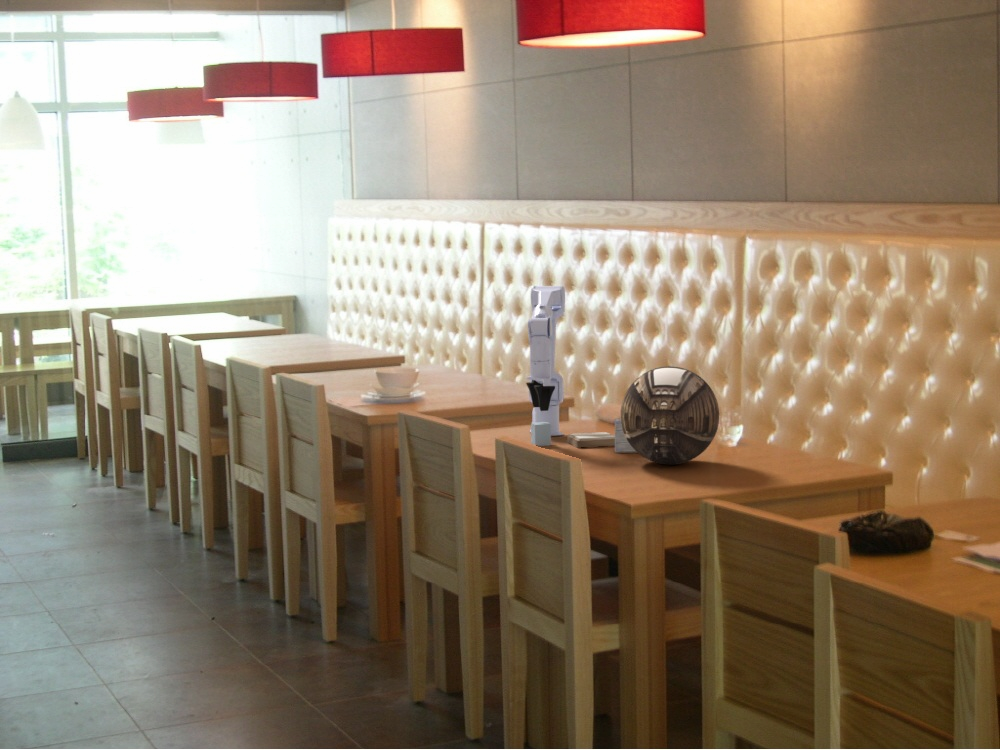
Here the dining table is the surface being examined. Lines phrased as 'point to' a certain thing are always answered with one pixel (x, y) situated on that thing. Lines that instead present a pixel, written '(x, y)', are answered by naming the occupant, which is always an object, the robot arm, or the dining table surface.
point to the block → (541, 433)
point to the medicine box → (621, 439)
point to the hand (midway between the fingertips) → (540, 408)
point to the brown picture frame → (591, 439)
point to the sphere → (669, 415)
